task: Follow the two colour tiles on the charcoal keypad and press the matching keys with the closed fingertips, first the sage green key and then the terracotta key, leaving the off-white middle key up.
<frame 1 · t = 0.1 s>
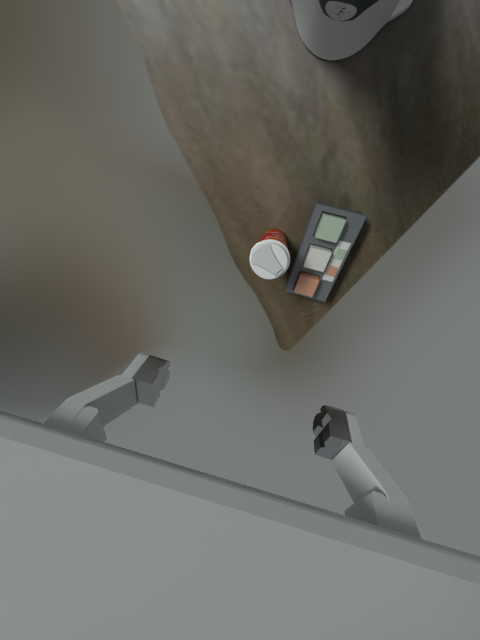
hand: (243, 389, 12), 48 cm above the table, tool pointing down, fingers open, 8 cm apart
paper cup: (273, 240, 54), on the table
key terracotta: (306, 284, 54), point 4 cm above the table, slide at 0.0 cm
key white: (317, 258, 50), point 4 cm above the table, slide at 0.0 cm
key sage: (329, 227, 46), point 4 cm above the table, slide at 0.0 cm
keypad housing: (319, 253, 54), on the table
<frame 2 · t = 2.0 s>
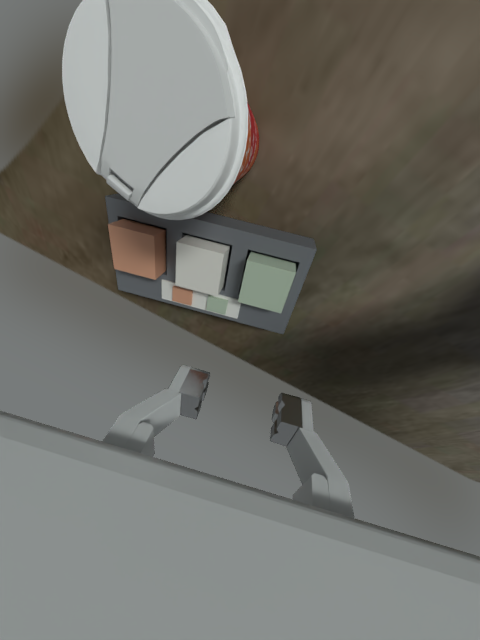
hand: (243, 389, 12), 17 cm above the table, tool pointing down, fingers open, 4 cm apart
paper cup: (228, 142, 20), on the table
key terracotta: (139, 249, 23), point 4 cm above the table, slide at 0.0 cm
key white: (202, 266, 23), point 4 cm above the table, slide at 0.0 cm
key sage: (266, 282, 22), point 4 cm above the table, slide at 0.0 cm
keypad housing: (213, 260, 27), on the table
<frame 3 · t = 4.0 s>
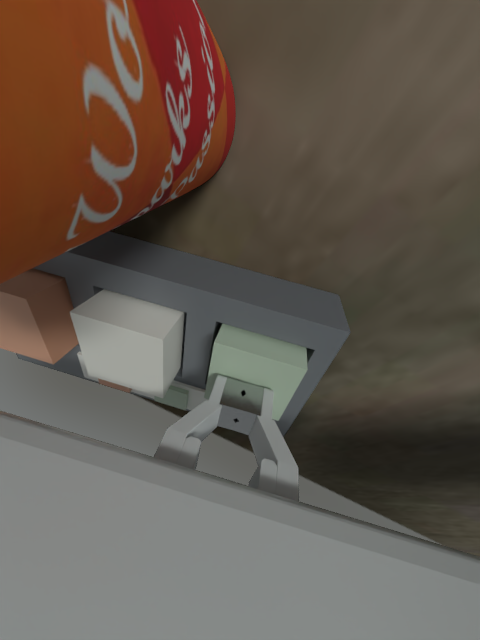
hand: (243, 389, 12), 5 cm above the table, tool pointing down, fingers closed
paper cup: (176, 113, 10), on the table
key terracotta: (24, 310, 13), point 4 cm above the table, slide at 0.0 cm
key white: (134, 344, 12), point 4 cm above the table, slide at 0.0 cm
key sage: (253, 368, 13), point 3 cm above the table, slide at 0.8 cm, touching gripper
keypad housing: (169, 316, 16), on the table
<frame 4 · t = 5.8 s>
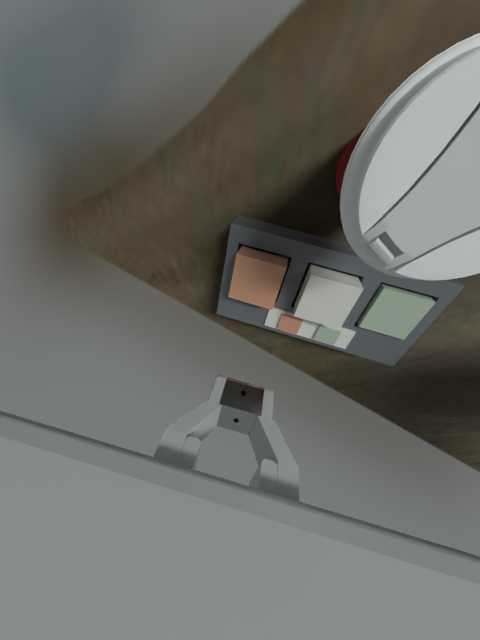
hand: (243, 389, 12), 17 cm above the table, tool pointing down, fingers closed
paper cup: (372, 168, 19), on the table
key terracotta: (257, 277, 22), point 4 cm above the table, slide at 0.0 cm
key white: (325, 297, 21), point 4 cm above the table, slide at 0.0 cm
key sage: (390, 308, 22), point 3 cm above the table, slide at 1.5 cm
keypad housing: (318, 286, 25), on the table
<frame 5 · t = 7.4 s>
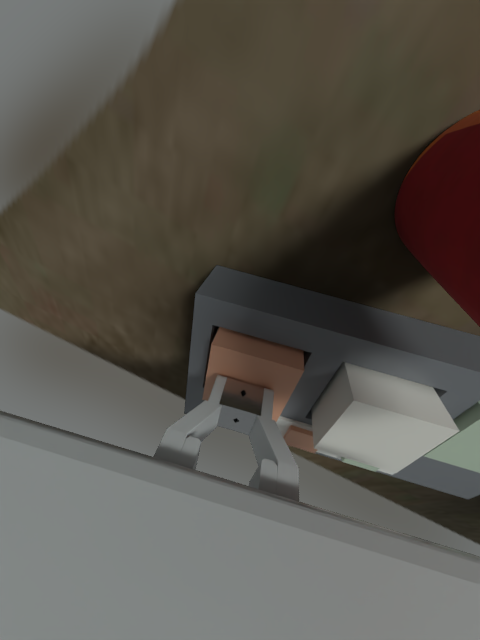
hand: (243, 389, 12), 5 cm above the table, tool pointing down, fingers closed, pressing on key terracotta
paper cup: (471, 191, 9), on the table
key terracotta: (250, 369, 13), point 3 cm above the table, slide at 0.9 cm, touching gripper
key white: (370, 417, 12), point 4 cm above the table, slide at 0.0 cm
keypad housing: (346, 370, 16), on the table
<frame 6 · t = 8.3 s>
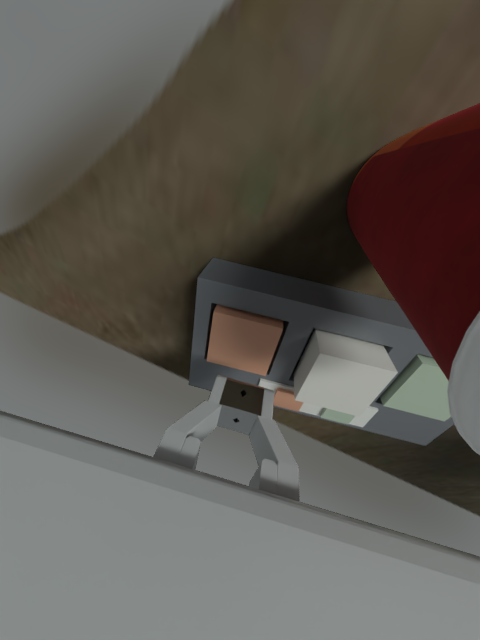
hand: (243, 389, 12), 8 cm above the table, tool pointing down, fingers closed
paper cup: (399, 195, 13), on the table
key terracotta: (244, 335, 16), point 3 cm above the table, slide at 1.4 cm
key white: (337, 373, 15), point 4 cm above the table, slide at 0.0 cm
key sage: (425, 380, 16), point 3 cm above the table, slide at 1.5 cm
keypad housing: (323, 343, 19), on the table
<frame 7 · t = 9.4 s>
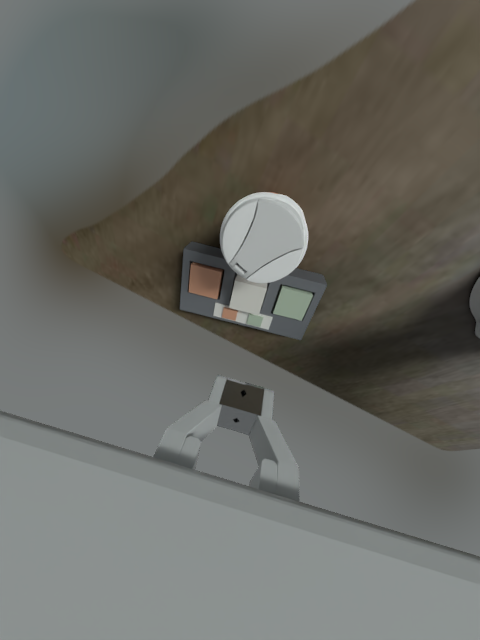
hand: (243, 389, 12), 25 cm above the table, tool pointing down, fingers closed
paper cup: (268, 214, 31), on the table
key terracotta: (206, 279, 34), point 3 cm above the table, slide at 1.4 cm
key white: (248, 294, 33), point 4 cm above the table, slide at 0.0 cm
key sage: (291, 300, 34), point 3 cm above the table, slide at 1.5 cm
keypad housing: (249, 287, 37), on the table
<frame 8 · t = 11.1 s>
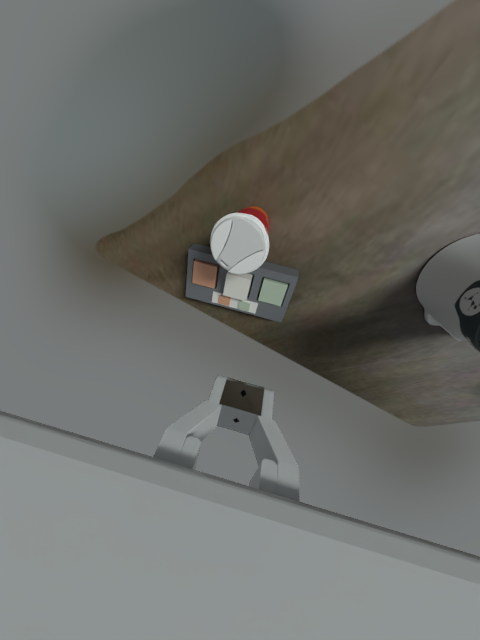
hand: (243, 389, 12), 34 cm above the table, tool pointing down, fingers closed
paper cup: (253, 223, 40), on the table
key terracotta: (206, 272, 44), point 3 cm above the table, slide at 1.4 cm
key white: (237, 284, 42), point 4 cm above the table, slide at 0.0 cm
key sage: (272, 290, 43), point 3 cm above the table, slide at 1.5 cm
keypad housing: (241, 280, 46), on the table
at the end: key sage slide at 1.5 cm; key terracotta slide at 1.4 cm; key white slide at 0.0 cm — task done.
